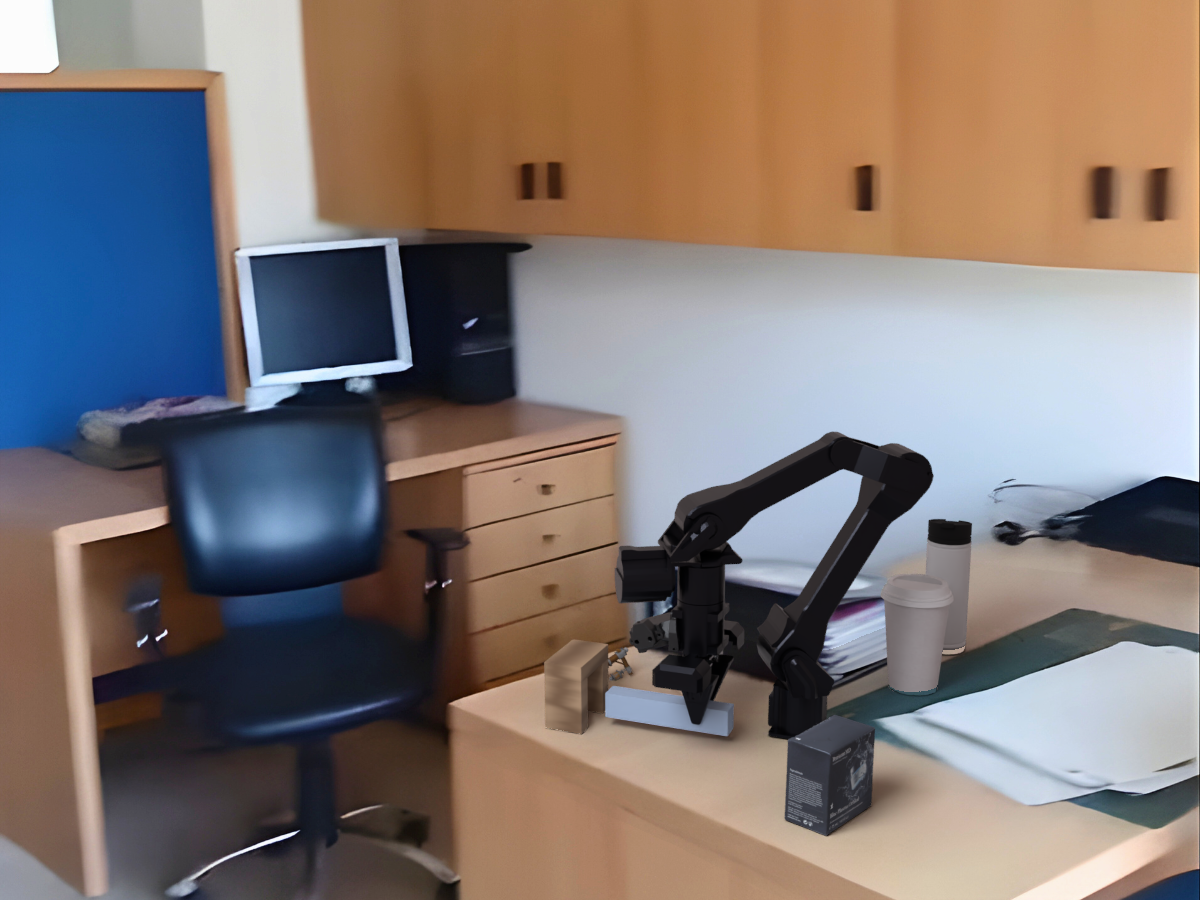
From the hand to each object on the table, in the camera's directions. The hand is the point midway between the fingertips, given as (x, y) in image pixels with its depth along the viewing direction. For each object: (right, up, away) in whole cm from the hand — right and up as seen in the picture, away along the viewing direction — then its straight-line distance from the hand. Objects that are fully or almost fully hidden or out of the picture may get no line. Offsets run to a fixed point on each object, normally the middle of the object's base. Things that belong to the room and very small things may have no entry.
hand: (699, 719), depth 154 cm
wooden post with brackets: (-12, +1, +19) cm, 23 cm away
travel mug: (+39, +4, +31) cm, 50 cm away
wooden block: (-15, -1, +7) cm, 17 cm away
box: (+12, -6, -19) cm, 23 cm away
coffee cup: (+30, +1, +16) cm, 35 cm away
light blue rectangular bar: (-4, -1, +2) cm, 4 cm away
